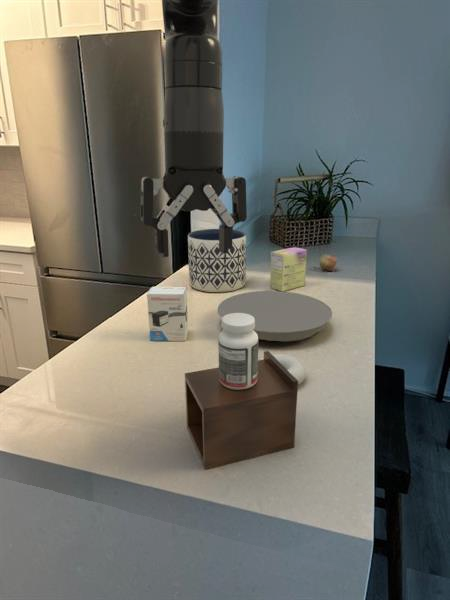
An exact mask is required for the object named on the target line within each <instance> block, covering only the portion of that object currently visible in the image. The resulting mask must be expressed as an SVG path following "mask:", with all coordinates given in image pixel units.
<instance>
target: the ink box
mask: <svg viewBox="0 0 450 600" xmlns="http://www.w3.org/2000/svg"><path fill="white" fill-rule="evenodd" d="M146 301H147V314H148V315H147V316H148V327H149V340H150V341H151V342H186V341H187V338H188V334H189V319H188V318H189V317H188V288H187V287H185V286H152V287H150V288H149V289H148V292H147V293H146Z"/></svg>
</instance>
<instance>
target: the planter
mask: <svg viewBox="0 0 450 600" xmlns="http://www.w3.org/2000/svg"><path fill="white" fill-rule="evenodd" d="M187 253H188V254H187V255H188V278H189V279H188V280H189V282H188V283H189V285H190V287H192V288H193V289H195V290H196V291H201V292H205V293H228V292H229V293H230V292H233V291H234V292H235V291H237V290H239V289H241V288H243V287H244V286H245V285H246V282H247V281H246V280H247V279H246V278H247V277H246V276H247V275H246V272H247V271H246V270H247V267H246V266H247V233H246V232H244V231H242V230H239V229H238V230H237V229H233V238H232V248H231V249H229V251H228V253H225V254H223V253H221V252H220V251H219V228H206V229H199V230H198V229H197V230H194V231H191V232H188V234H187Z"/></svg>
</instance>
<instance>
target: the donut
mask: <svg viewBox="0 0 450 600" xmlns="http://www.w3.org/2000/svg"><path fill="white" fill-rule="evenodd" d="M271 354H272V353H271ZM272 355H273V356H274V357H275V358H276V359H277V360H278V361H279V362H280V363H281V364H282V365H283V366H284V367H285V368H286V369H287V370H288V371H289V372H290V373H291V374H292V375H293V376H294V377H295V378H296V379H297V380H298V385H300V384H301V383H302V382H303V381H304V380H305V378H306V376H307V368H306V366H305V364H304V363H303V361H301V360H300V359H299V358H297V357H295V356H292V355H289V354H284V353H273V354H272ZM263 359H264V356H263V357H261V358H258V360H263Z"/></svg>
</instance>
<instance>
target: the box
mask: <svg viewBox="0 0 450 600" xmlns="http://www.w3.org/2000/svg"><path fill="white" fill-rule="evenodd" d="M307 252H308V250H307V249H304V248H300V247H295V246H293V247H288V248H282V249H277V250H273V251H270V277H269V288H271V289H273V290H275V291H283V292H287V291H289V290H293V289H297V288H301V287H305V286H306V274H307V273H306V271H307Z"/></svg>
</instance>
